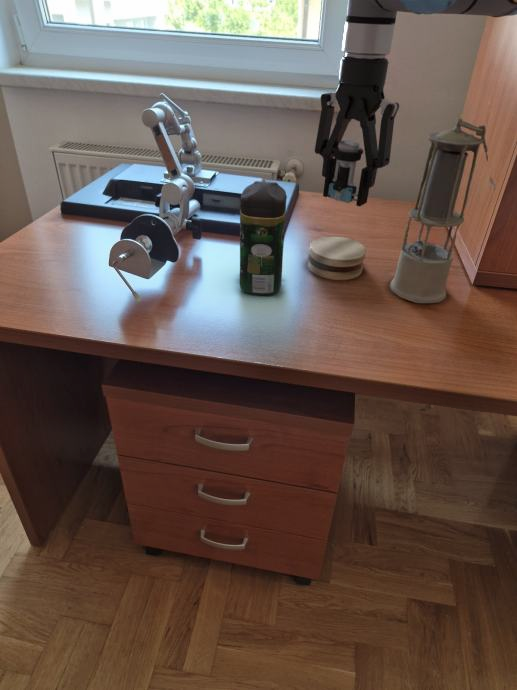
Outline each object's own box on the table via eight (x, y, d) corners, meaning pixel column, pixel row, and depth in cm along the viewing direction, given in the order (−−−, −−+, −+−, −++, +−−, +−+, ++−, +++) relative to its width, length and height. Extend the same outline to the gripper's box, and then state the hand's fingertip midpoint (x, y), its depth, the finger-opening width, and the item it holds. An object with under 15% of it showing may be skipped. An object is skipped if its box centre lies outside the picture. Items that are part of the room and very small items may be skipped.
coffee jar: (242, 271, 94) (244, 176, 83) (282, 274, 94) (289, 179, 83) (235, 295, 86) (236, 194, 76) (279, 299, 86) (286, 197, 75)
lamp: (387, 275, 95) (423, 111, 78) (453, 281, 94) (505, 116, 77) (393, 301, 87) (434, 124, 69) (466, 307, 86) (527, 129, 68)
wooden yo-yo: (372, 266, 98) (376, 246, 96) (345, 286, 91) (348, 265, 88) (325, 250, 104) (327, 230, 101) (295, 268, 96) (297, 247, 94)
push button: (366, 200, 89) (376, 145, 83) (352, 208, 86) (362, 150, 80) (335, 192, 92) (343, 137, 86) (321, 199, 89) (328, 142, 83)
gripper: (432, 60, 73) (401, 207, 87) (325, 49, 83) (312, 183, 96) (413, 63, 68) (382, 218, 82) (301, 51, 78) (290, 192, 91)
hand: (344, 199), depth 89 cm, fingers closed on push button, 6 cm apart
